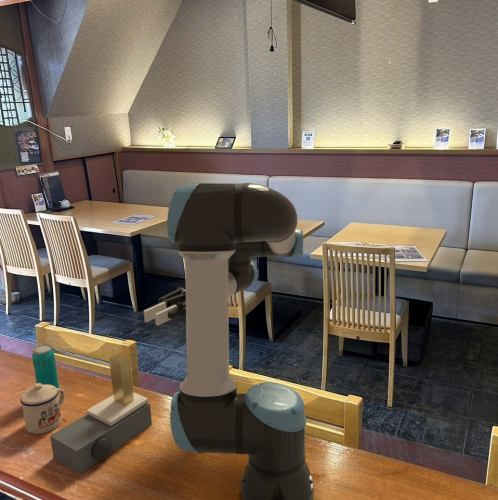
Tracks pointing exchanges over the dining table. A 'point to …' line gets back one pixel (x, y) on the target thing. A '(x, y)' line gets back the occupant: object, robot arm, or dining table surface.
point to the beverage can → (45, 365)
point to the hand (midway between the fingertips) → (150, 318)
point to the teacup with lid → (42, 408)
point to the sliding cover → (118, 394)
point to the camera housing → (96, 438)
